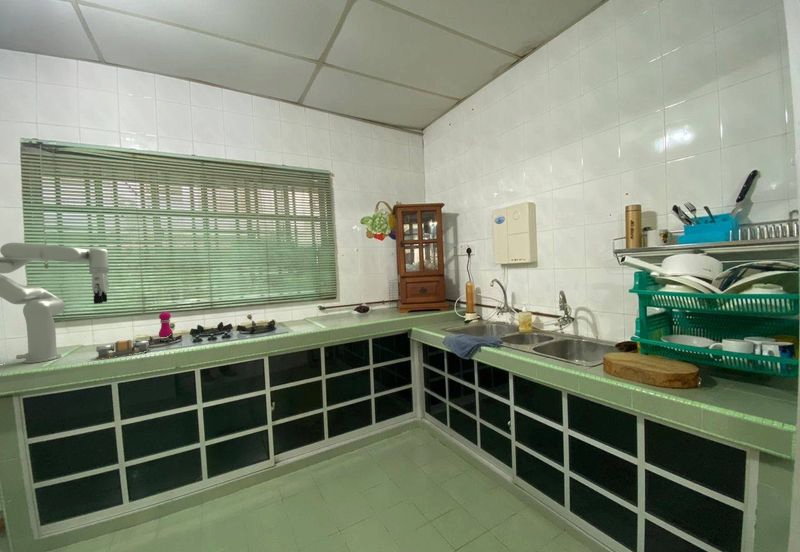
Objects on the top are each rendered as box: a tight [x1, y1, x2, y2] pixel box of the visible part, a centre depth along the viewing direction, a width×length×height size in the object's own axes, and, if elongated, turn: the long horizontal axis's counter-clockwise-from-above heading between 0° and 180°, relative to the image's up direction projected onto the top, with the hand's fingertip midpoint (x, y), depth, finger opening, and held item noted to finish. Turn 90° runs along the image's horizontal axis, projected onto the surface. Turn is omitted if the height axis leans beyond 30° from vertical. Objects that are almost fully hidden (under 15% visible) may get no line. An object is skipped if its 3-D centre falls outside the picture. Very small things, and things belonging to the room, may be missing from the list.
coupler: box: [114, 339, 133, 352], centre depth 164 cm, size 6×5×6 cm
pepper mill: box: [158, 309, 174, 338], centre depth 195 cm, size 7×7×20 cm
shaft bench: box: [95, 340, 150, 360], centre depth 164 cm, size 21×10×6 cm, turn 124°
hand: (100, 302), depth 166 cm, fingers open, 9 cm apart
